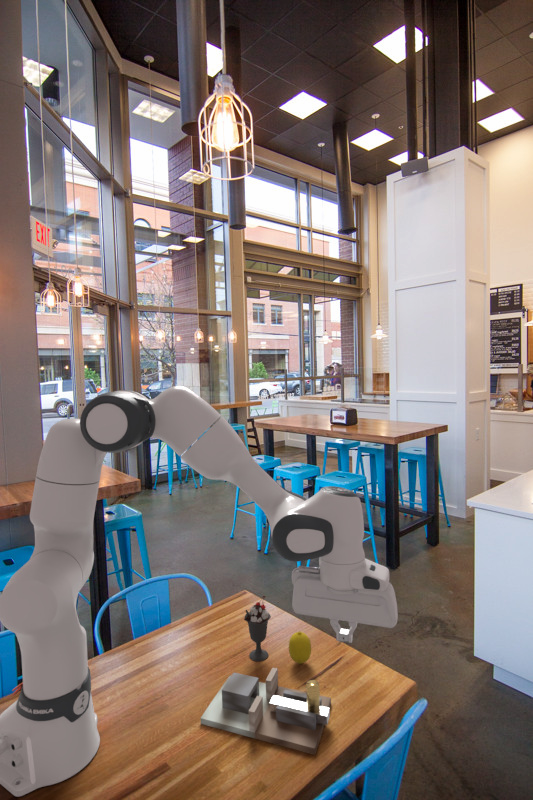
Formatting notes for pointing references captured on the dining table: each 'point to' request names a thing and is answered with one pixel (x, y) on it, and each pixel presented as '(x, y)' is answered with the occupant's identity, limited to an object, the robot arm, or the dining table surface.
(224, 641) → the dining table surface
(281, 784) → the dining table surface
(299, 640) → the lemon
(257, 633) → the sundae
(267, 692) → the lock board
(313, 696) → the bolt
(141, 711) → the dining table surface
